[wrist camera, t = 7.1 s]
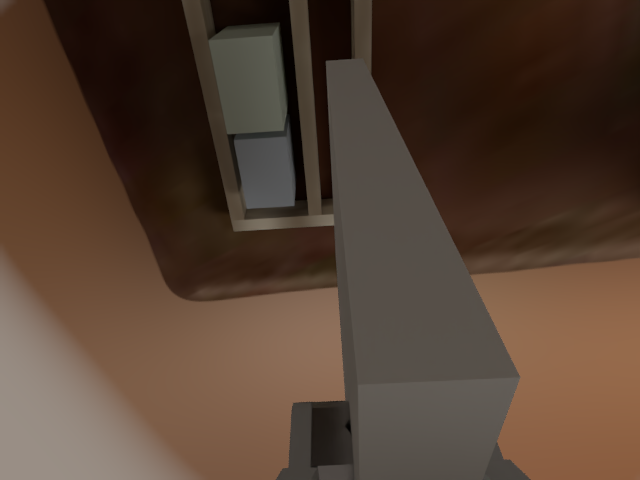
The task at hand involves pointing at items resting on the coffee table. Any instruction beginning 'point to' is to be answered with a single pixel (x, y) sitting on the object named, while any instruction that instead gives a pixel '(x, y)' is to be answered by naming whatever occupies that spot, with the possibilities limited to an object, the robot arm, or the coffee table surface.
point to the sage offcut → (251, 77)
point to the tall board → (406, 306)
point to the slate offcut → (267, 167)
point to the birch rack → (314, 207)
